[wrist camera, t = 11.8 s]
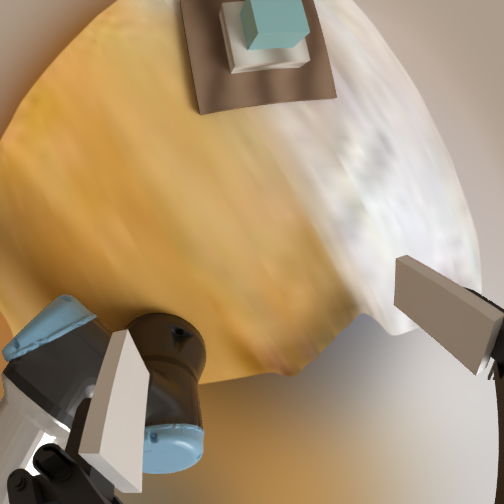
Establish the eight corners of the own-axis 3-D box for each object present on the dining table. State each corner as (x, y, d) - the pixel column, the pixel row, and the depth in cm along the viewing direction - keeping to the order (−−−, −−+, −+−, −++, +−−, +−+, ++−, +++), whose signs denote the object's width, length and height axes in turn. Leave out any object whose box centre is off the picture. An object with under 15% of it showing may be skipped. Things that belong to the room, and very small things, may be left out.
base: (200, 115, 37) (201, 109, 32) (179, -1, 30) (179, -18, 25) (332, 98, 39) (350, 93, 34) (306, -8, 32) (319, -22, 27)
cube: (247, 50, 30) (258, 33, 25) (239, 13, 28) (248, -8, 22) (293, 47, 31) (310, 32, 25) (284, 11, 29) (298, -8, 23)
